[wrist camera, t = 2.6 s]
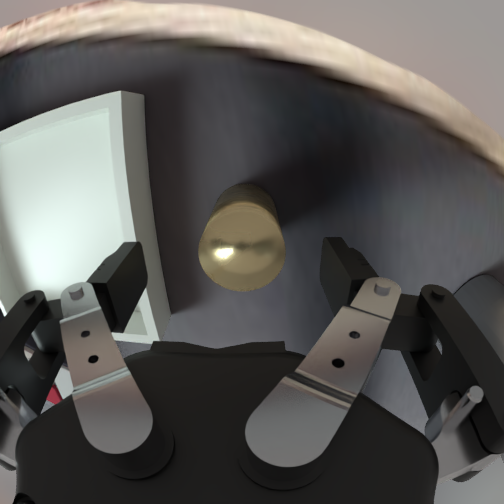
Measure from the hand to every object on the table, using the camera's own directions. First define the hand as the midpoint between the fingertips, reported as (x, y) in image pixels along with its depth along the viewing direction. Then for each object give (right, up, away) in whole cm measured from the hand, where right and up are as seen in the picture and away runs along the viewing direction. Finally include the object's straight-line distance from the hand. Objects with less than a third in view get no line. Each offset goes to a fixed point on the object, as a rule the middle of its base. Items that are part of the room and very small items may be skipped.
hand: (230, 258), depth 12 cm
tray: (-15, +3, +6) cm, 16 cm away
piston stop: (0, +3, +6) cm, 7 cm away
